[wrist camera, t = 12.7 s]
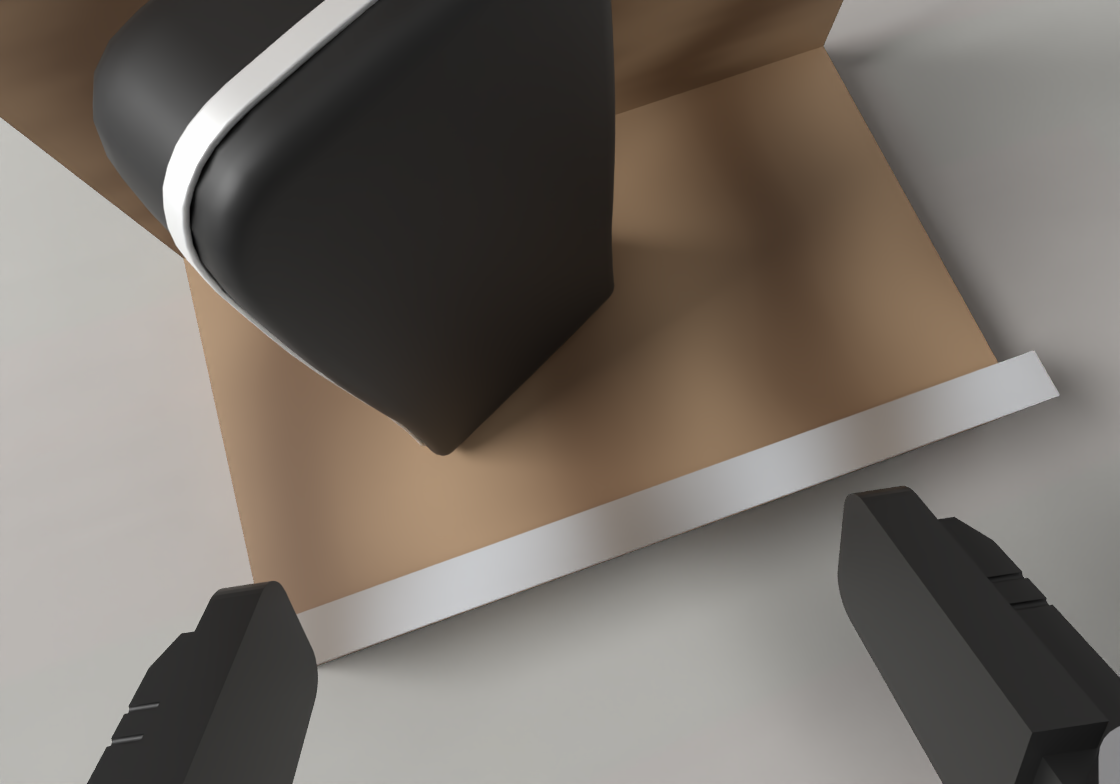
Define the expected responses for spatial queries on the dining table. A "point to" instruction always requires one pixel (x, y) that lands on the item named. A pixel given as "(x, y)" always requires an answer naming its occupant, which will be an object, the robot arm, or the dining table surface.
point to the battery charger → (381, 181)
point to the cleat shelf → (597, 334)
